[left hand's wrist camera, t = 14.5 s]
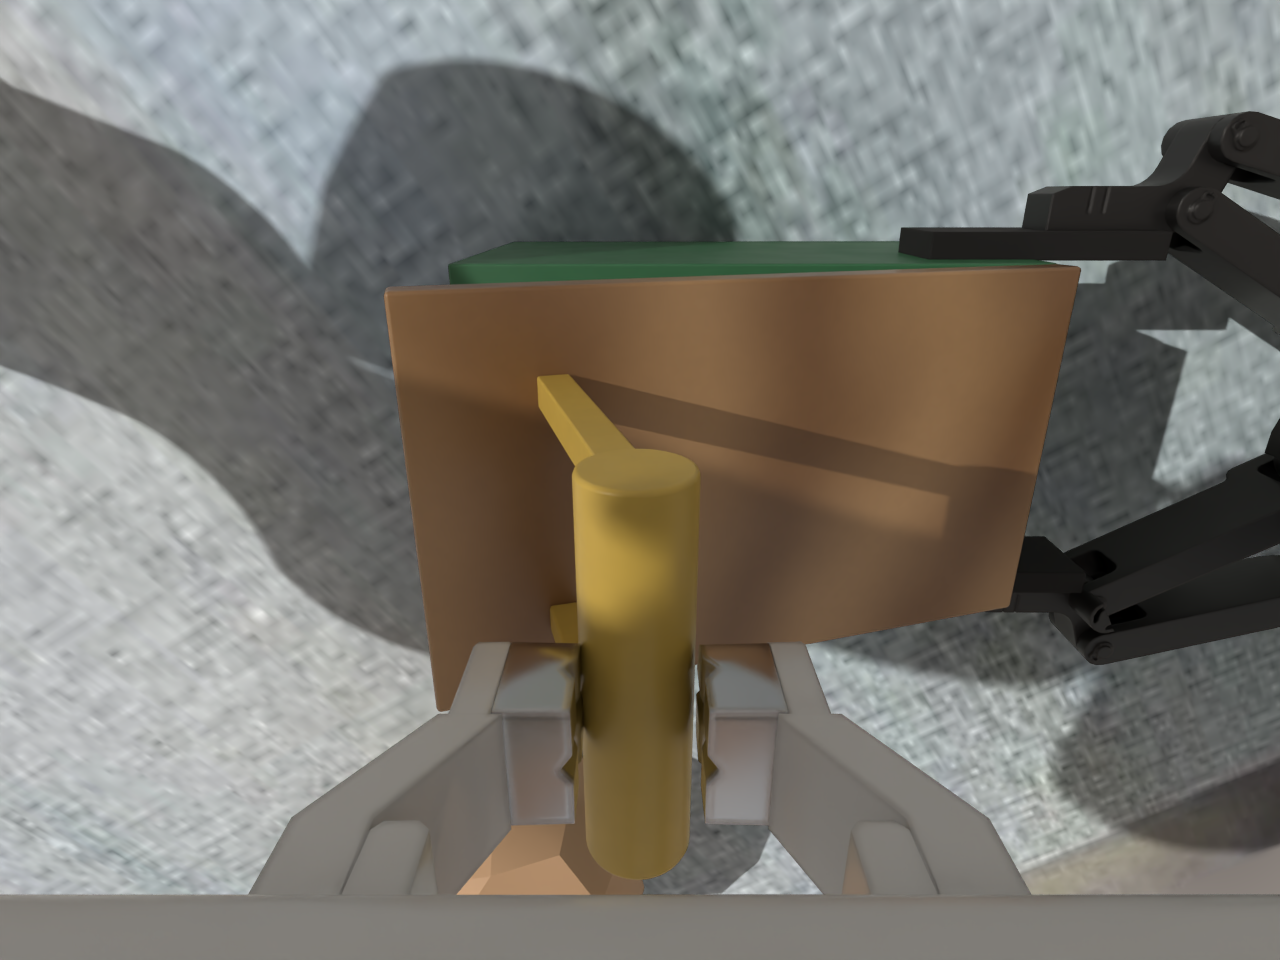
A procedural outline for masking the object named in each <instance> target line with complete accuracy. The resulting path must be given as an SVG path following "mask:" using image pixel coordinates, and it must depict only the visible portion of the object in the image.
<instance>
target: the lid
mask: <svg viewBox="0 0 1280 960" xmlns="http://www.w3.org/2000/svg"><path fill="white" fill-rule="evenodd" d="M1080 273H1081V268H1079V267H1077V266H1069V265H1060V264H1044V265H1014V266H985V267H955V268H926V269H896V270H867V271H837V272H808V273H778V274H749V275H719V276H690V277H660V278H631V279H601V280H572V281H542V282H513V283H483V284H454V285H424V286H395V287H388V288H386V289H385V293H384V302H385V310H386V318H387V325H388V333H389V341H390V349H391V357H392V364H393V372H394V380H395V388H396V395H397V403H398V411H399V419H400V427H401V434H402V442H403V450H404V458H405V465H406V473H407V481H408V489H409V497H410V504H411V512H412V520H413V528H414V535H415V543H416V551H417V559H418V566H419V574H420V582H421V590H422V598H423V605H424V613H425V621H426V629H427V636H428V644H429V652H430V660H431V668H432V675H433V683H434V691H435V699H436V706H437V709H438V711H440V712H442V711H448V710H450V709H451V706H452V703H453V700H454V698H455V695H456V692H457V690H458V687H459V684H460V682H461V679H462V676H463V673H464V671H465V668H466V665H467V663H468V660H469V657H470V655H471V652H472V649H473V647H474V646H475V645H476V644H477V643H478V642H511V643H513V642H537V643H580V644H581V664H582V678H581V688H580V691H581V695H582V698H583V719H584V732H583V773H584V798H585V824H586V842H587V846H588V849H589V852H590V853H591V855H592V857H593V858H594V860H595V861H596V862H597V863H598V864H599V865H600V866H601V867H602V868H603V869H604V870H606V871H607V872H609V873H611V874H613V875H615V876H618V877H621V878H625V879H631V880H644V879H650V878H654V877H657V876H660V875H662V874H664V873H666V872H668V871H669V870H671V869H672V868H673V867H674V866H676V865H677V864H678V862H679V861H680V860H681V859H682V857H683V856H684V854H685V852H686V850H687V847H688V844H689V838H690V806H691V773H692V741H693V708H694V676H695V665H697V663H698V648H699V644H748V643H769V642H798V641H801V642H802V643H804V644H811V643H816V642H822V641H827V640H832V639H838V638H843V637H849V636H854V635H859V634H865V633H870V632H876V631H881V630H887V629H892V628H897V627H903V626H908V625H914V624H919V623H924V622H930V621H935V620H941V619H946V618H952V617H957V616H962V615H968V614H973V613H979V612H984V611H990V610H995V609H1000V608H1006V607H1008V606H1009V605H1010V601H1011V596H1012V591H1013V587H1014V582H1015V577H1016V573H1017V568H1018V563H1019V559H1020V554H1021V549H1022V544H1023V540H1024V535H1025V530H1026V526H1027V521H1028V516H1029V512H1030V507H1031V502H1032V498H1033V493H1034V488H1035V484H1036V479H1037V474H1038V469H1039V465H1040V460H1041V455H1042V451H1043V446H1044V441H1045V437H1046V432H1047V427H1048V423H1049V418H1050V413H1051V409H1052V404H1053V399H1054V394H1055V390H1056V385H1057V380H1058V376H1059V371H1060V366H1061V362H1062V357H1063V352H1064V348H1065V343H1066V338H1067V334H1068V329H1069V324H1070V319H1071V315H1072V310H1073V305H1074V301H1075V296H1076V291H1077V287H1078V282H1079V277H1080Z"/></svg>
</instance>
